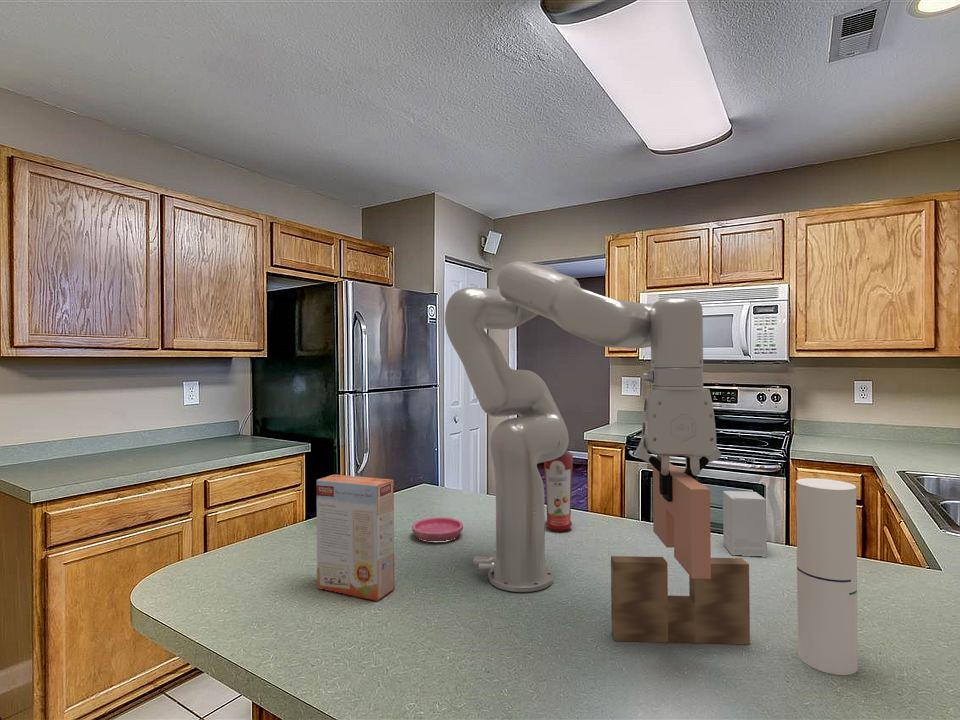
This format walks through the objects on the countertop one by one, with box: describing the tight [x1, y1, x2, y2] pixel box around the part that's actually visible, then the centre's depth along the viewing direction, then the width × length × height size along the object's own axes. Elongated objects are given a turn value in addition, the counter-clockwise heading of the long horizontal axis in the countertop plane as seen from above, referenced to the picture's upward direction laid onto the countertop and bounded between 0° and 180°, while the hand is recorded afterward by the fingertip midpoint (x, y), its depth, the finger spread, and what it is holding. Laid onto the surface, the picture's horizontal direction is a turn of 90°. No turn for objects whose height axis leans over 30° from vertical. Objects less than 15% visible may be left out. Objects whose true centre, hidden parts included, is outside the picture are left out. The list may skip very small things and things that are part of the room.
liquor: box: [543, 449, 574, 533], centre depth 136 cm, size 7×7×28 cm
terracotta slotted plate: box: [652, 462, 712, 579], centre depth 82 cm, size 20×2×12 cm, turn 176°
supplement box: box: [722, 490, 768, 558], centre depth 119 cm, size 7×7×13 cm
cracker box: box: [316, 474, 395, 602], centre depth 100 cm, size 14×6×21 cm, turn 65°
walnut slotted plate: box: [610, 555, 751, 645], centre depth 82 cm, size 20×2×12 cm, turn 86°
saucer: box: [411, 516, 464, 541], centre depth 130 cm, size 12×12×3 cm
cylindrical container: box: [795, 477, 859, 676], centre depth 76 cm, size 7×7×25 cm
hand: (677, 498), depth 82 cm, fingers closed on terracotta slotted plate, 2 cm apart
